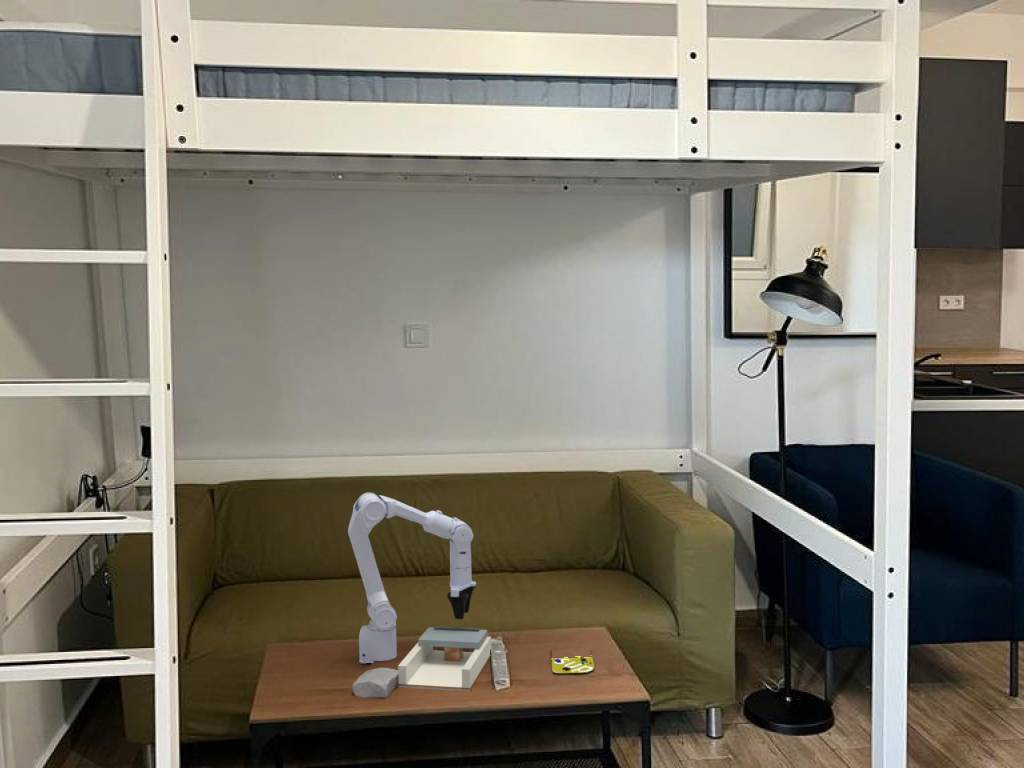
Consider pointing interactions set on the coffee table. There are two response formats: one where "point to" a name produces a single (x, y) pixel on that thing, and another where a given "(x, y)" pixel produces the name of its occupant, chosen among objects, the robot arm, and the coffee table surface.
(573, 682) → the coffee table surface
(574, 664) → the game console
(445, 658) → the block
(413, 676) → the white sliding box
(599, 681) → the coffee table surface
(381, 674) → the stone block
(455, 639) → the slide cover
